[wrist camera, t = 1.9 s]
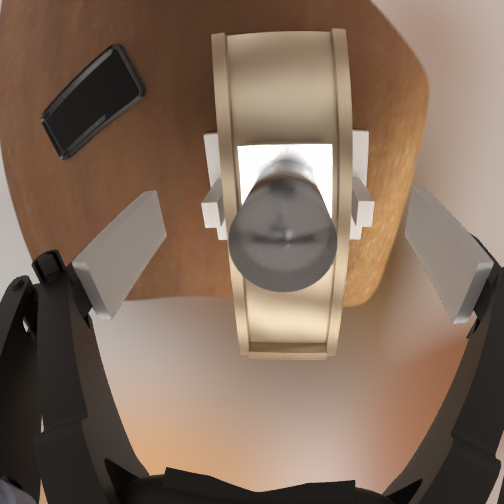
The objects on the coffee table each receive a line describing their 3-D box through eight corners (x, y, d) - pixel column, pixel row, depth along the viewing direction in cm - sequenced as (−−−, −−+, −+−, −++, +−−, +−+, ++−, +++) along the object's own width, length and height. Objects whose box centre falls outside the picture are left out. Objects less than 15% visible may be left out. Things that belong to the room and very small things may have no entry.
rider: (246, 142, 21) (192, 167, 10) (324, 140, 20) (368, 163, 9) (251, 215, 24) (212, 310, 12) (324, 214, 23) (354, 311, 11)
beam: (221, 48, 21) (205, 33, 16) (339, 44, 20) (350, 27, 15) (243, 327, 34) (236, 357, 29) (333, 328, 32) (338, 359, 28)
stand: (206, 133, 27) (183, 149, 21) (366, 130, 25) (388, 145, 19) (229, 291, 38) (218, 330, 33) (350, 291, 36) (358, 331, 30)
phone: (39, 117, 26) (116, 40, 21) (44, 115, 27) (121, 41, 22) (63, 163, 30) (146, 95, 25) (68, 161, 31) (151, 94, 26)
